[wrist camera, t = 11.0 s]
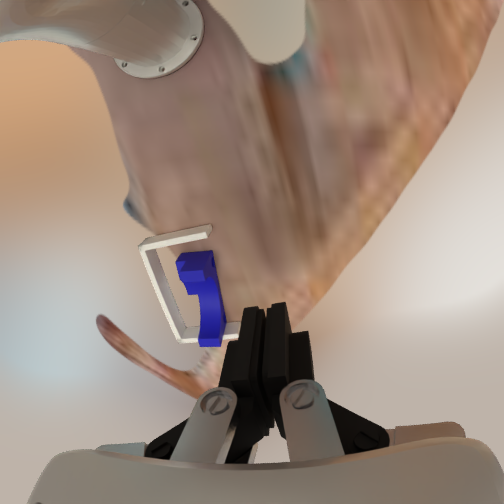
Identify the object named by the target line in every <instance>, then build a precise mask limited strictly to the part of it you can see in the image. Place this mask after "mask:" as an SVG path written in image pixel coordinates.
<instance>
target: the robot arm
mask: <svg viewBox="0 0 504 504" xmlns="http://www.w3.org/2000/svg"><path fill="white" fill-rule="evenodd" d="M187 4H188V5H187ZM186 5H187V6H186ZM203 35H204V20H203V16H202V14H201V11H200V10H199V8H198V7H197V6H196V5H195V4H194V2H193V1H191V0H0V42H5V41H12V40H31V39H32V40H42V41H49V42H55V43H59V44H64V45H68V46H72V47H76V48H80V49H84V50H88V51H92V52H95V53H99V54H103V55H106V56H110V57H113V58H114V60H115V62H116V64H117V65H118V67H119V68H120V69H121V70H122V71H124V72H125V73H127V74H129V75H131V76H134V77H138V78H144V79H152V78H159V77H162V76H166V75H168V74H170V73H172V72H174V71H176V70H178V69H179V68H181V67H182V66H183V65H185V64H186V63H187V62H188V61H189V60H190V59H191V58H192V56H193V55H194V54H195V52H196V51H197V49H198V48H199V46H200V44H201V41H202V38H203ZM195 38H197V40H195V41H194V39H195ZM126 65H127V66H126ZM164 68H165V70H164V72H163V69H164ZM274 421H276V424H277V427H278V429H279V432H280V435H281V437H283V438H284V439H286V441H287V446H288V451H289V458H290V462H282V463H261V464H253V463H254V459H255V456H256V452H257V448H258V443H257V442H258V441H260V440H261V439H262V438H263V437H264V436H269V428H274ZM27 504H504V473H503V470H502V468H501V466H500V464H499V462H498V460H497V458H496V456H495V455H494V453H493V452H492V451H491V449H490V448H489V447H488V446H487V445H486V444H484V443H483V442H481V441H479V440H475V439H471V438H466V436H465V432H464V429H463V428H462V427H461V426H460V425H459V424H457V423H455V422H442V423H432V424H423V425H411V426H396V428H395V429H384V428H382V427H381V426H379V425H377V424H375V423H373V422H371V421H369V420H367V419H365V418H363V417H361V416H359V415H357V414H355V413H353V412H351V411H349V410H347V409H346V408H344V407H342V406H340V405H338V404H336V403H334V402H332V401H330V400H329V399H327V398H326V395H325V392H324V389H323V388H322V386H321V385H320V384H319V383H317V382H315V381H314V370H313V361H312V352H311V346H310V339H309V333H308V331H303V332H297V333H292V331H291V326H290V321H289V316H288V311H287V306H286V303H285V302H282V303H275V304H272V306H271V308H267V315H266V316H265V312H264V309H259V307H258V306H255V307H248V308H244V311H243V316H242V321H241V327H240V332H239V337H238V340H235V341H229V342H228V345H227V350H226V354H225V359H224V363H223V368H222V372H221V376H220V381H219V385H218V387H216V388H213V389H210V390H208V391H206V392H204V393H203V394H202V395H201V396H200V397H199V399H198V400H197V402H196V404H195V407H194V409H193V411H192V413H191V415H190V417H189V418H188V419H186V420H185V421H183V422H182V423H180V424H179V425H177V426H175V427H174V428H172V429H171V430H169V431H167V432H166V433H164V434H163V435H161V436H159V437H158V438H156V439H154V440H153V441H152V442H151V443H150V444H146V443H145V442H141V443H128V444H111V445H102V446H100V447H98V448H97V449H96V450H92V449H85V450H84V449H82V450H72V451H66V452H63V453H60V454H58V455H56V456H55V457H53V458H52V459H51V461H50V462H49V463H48V464H47V466H46V467H45V469H44V470H43V472H42V474H41V475H40V477H39V479H38V481H37V483H36V485H35V487H34V489H33V491H32V493H31V496H30V498H29V500H28V503H27Z"/></svg>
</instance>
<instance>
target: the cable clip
mask: <svg viewBox="0 0 504 504" xmlns="http://www.w3.org/2000/svg"><path fill="white" fill-rule="evenodd" d="M176 266H177V270H178V274H179V278H180V280H181V281H182V282H183V283H184V285H185V287H186V290H187V293H188V295H196V294H198V297H199V303H200V315H201V321H200V331H199V336H198V342H199V345H200V347H221V343H222V339H223V335H224V331H225V327H226V323H227V321H226V316H225V311H224V306H223V302H222V297H221V292H220V287H219V282H218V277H217V272H216V267H215V261H214V256H213V251H200V252H188V253H181V254H180V256H179V257H178V259H177V260H176Z"/></svg>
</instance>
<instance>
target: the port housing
mask: <svg viewBox="0 0 504 504" xmlns="http://www.w3.org/2000/svg"><path fill="white" fill-rule="evenodd" d="M211 231H212V226H211V224H208V225H203V226H199V227H194V228H189V229H185V230H180V231H176V232H171V233H167V234H162V235H158V236H153V237H149V238H146V239H145V240H144V241H143V242H142V243H141V244H140V245H139V246H138V248H139V251H140V254H141V256H142V259H143V261H144V264H145V266H146V269H147V272H148V274H149V277H150V279H151V282H152V284H153V287H154V289H155V292H156V294H157V296H158V299H159V301H160V304H161V306H162V308H163V310H164V313H165V315H166V317H167V320H168V322H169V324H170V326H171V329H172V331H173V333H174V335H175V337H176V339H177V342H178V343H190V342H198V336H199V331H200V326H195V327H186V326H185V324H184V321H183V319H182V317H181V314H180V312H179V309H178V307H177V304H176V302H175V300H174V297H173V295H172V292H171V289H170V287H169V284H168V282H167V279H166V276H165V274H164V271H163V269H162V266H161V263H160V260H159V258H158V255H157V252H156V249H155V248H160V247H165V246H170V245H175V244H180V243H185V242H190V241H195V240H200V239H205V238H208V236H209V235H210V233H211ZM240 327H241V323H240V321H239V322H231V323H226V327H225V331H224V335H223V339H233V338H238V337H239V332H240ZM223 339H222V340H223Z"/></svg>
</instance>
